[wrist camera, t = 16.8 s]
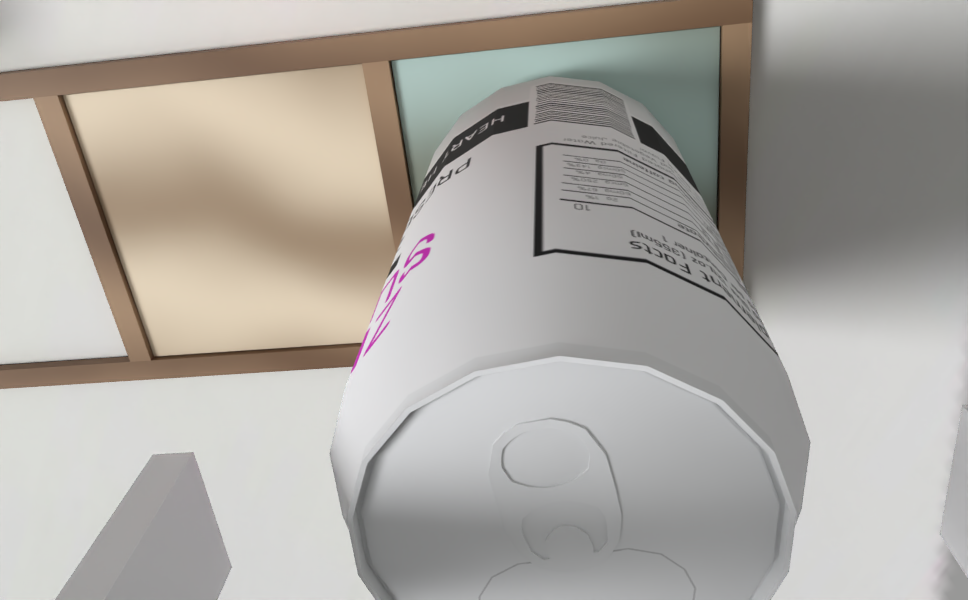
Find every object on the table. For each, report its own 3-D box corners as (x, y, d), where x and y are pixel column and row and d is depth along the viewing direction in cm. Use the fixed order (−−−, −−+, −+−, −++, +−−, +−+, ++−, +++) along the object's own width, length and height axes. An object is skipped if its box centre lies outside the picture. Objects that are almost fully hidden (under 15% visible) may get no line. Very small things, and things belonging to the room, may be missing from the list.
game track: (738, 336, 28) (740, 341, 28) (-114, 390, 32) (-121, 396, 31) (750, -10, 23) (753, -8, 23) (-270, 102, 26) (-281, 105, 26)
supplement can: (701, 286, 27) (853, 684, 14) (463, 332, 29) (395, 733, 15) (665, 42, 24) (821, 265, 10) (394, 108, 25) (227, 379, 12)
